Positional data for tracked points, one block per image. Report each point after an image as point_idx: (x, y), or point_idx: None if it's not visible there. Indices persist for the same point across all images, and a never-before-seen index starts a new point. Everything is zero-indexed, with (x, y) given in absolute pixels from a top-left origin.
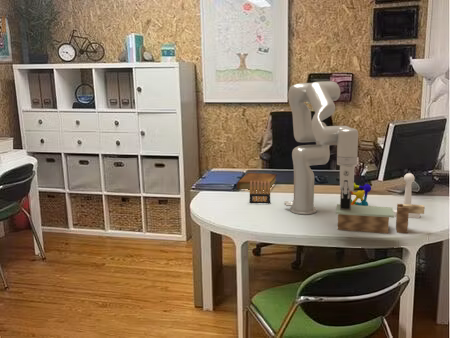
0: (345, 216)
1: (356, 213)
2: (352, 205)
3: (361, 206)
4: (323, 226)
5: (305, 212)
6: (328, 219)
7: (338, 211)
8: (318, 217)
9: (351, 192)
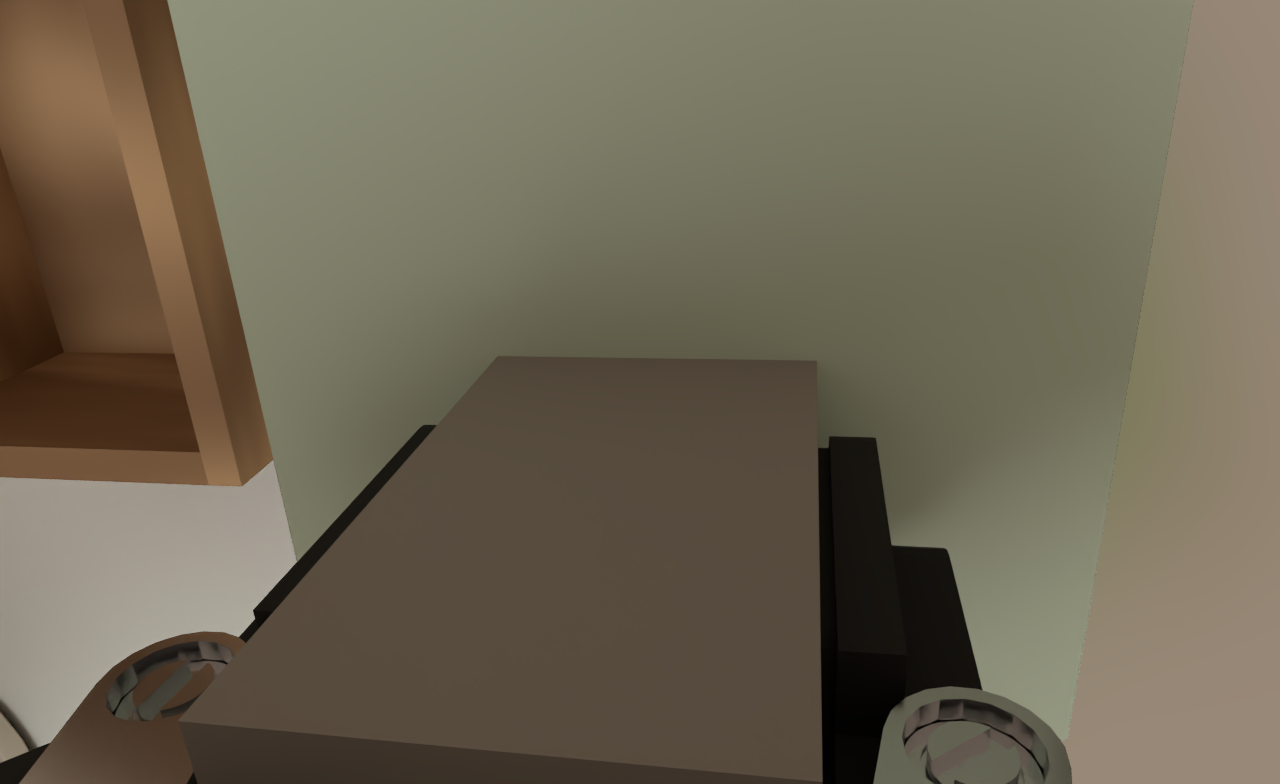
0: (237, 339)
1: (1158, 168)
2: (280, 316)
3: (272, 31)
4: None
5: (3, 758)
6: (40, 492)
7: (1004, 674)
8: (33, 604)
9: (324, 711)
